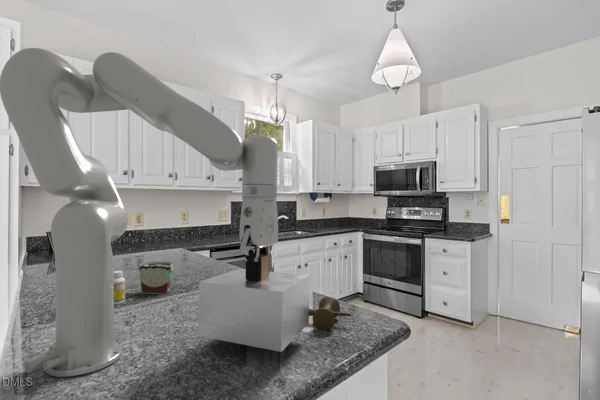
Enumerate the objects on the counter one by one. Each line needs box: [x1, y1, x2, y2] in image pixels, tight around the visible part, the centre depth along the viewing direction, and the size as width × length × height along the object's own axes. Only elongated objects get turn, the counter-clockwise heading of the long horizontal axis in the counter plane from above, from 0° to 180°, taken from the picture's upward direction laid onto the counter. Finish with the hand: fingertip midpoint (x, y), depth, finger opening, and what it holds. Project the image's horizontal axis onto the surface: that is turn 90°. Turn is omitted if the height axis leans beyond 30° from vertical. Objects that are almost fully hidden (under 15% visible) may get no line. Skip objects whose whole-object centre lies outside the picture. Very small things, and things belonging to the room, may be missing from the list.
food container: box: [137, 261, 174, 295], centre depth 114 cm, size 12×6×10 cm, turn 84°
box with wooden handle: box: [197, 254, 310, 353], centre depth 70 cm, size 16×19×16 cm
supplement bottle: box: [114, 270, 126, 306], centre depth 101 cm, size 5×5×10 cm
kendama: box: [309, 296, 352, 331], centre depth 84 cm, size 6×10×20 cm
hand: (257, 277), depth 70 cm, fingers closed on box with wooden handle, 3 cm apart
